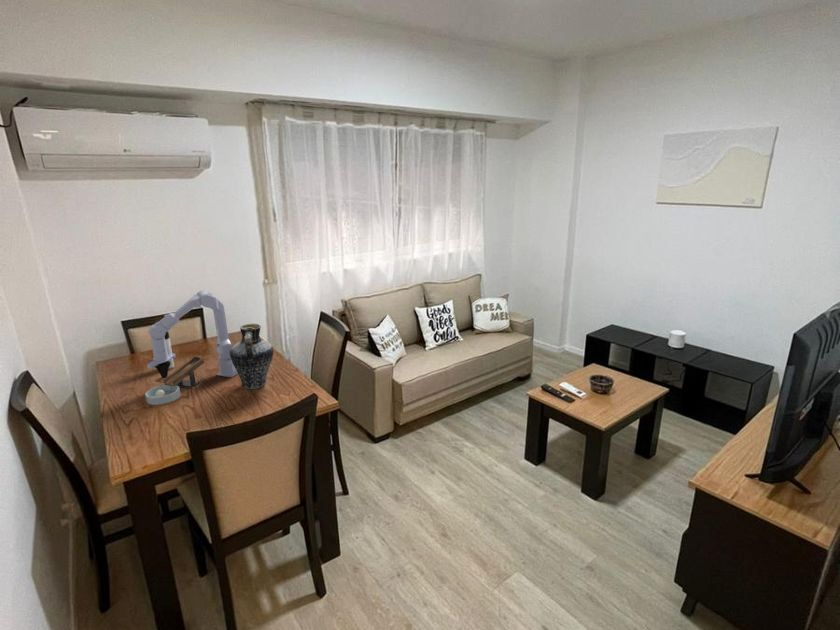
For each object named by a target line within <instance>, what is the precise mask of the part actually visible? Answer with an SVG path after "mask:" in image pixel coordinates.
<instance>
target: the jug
mask: <svg viewBox="0 0 840 630" xmlns="http://www.w3.org/2000/svg"><path fill="white" fill-rule="evenodd" d="M261 327H262V326H261V325H260V324H258V323H247V324H243V325H241V326H239V331H240V333H241V340H240V341H239V342H237V343H235V344H234V345H233V346H231V347H232V348H231V349H230V357H231V360H232V363H233V365H234V367H235V369H236V370H237V372H238V374H237V375H238V376H239V380H240V382H241V386H242V388H244V389H247V390H256V389H259V388H262V387H263V386H265V385H266V382H267V375H268V372H269V369H270V365H271V364H272V361H273V358H274V357H273V356H274V347H273V345H272V343H270V342H268V341H266V340H263V339H261V336H260V333H261Z"/></svg>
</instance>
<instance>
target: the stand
mask: <svg viewBox="0 0 840 630" xmlns="http://www.w3.org/2000/svg"><path fill="white" fill-rule="evenodd" d="M188 376H189V380H188V379H183V380H182V381H181V382H179V383H178V384H177V386H178V387H179V388H180V387H181V388H188V389H193V388H194V387H197V386H198V385H200V381H196V377H195V372H194V371H192V372H190V373H189V375H188Z"/></svg>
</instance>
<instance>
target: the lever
mask: <svg viewBox="0 0 840 630" xmlns="http://www.w3.org/2000/svg"><path fill="white" fill-rule="evenodd" d="M204 364H205V360H204V358H203V357H202V355H201V356H200V355H193V356H192V358H190V359H189V360H187V361H186V362H185V363H184V364H183V365H182V364H181V366H180V367H178V368H177V369H176V370H175V371H173V372H171V373H170V372H168V375H167V377H166V378H162V377H161V375H160V374H159V376H158V377H156V378H155V379H154V383H160V384H163V385H170V386H176V385H177V384H178V383H179V382H181V381H182V380H185V378H187V377H188V376H189V373H190V372H192V371H193V372H194V371H196V370H197V369H198V368H200V367H201V366H202V365H204Z"/></svg>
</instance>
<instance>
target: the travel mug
mask: <svg viewBox="0 0 840 630" xmlns="http://www.w3.org/2000/svg"><path fill="white" fill-rule="evenodd" d="M164 337H165V340H166V346H167V352H168V355H169V354H172V353H173V351H172V344H171V338H170V332H169V331H167V332H166V334H165V336H164ZM168 361H169V362H171V364H170V366H169V369H168V371H171V370H173V369H175V363H174V358H172V359H170V360H168Z"/></svg>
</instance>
